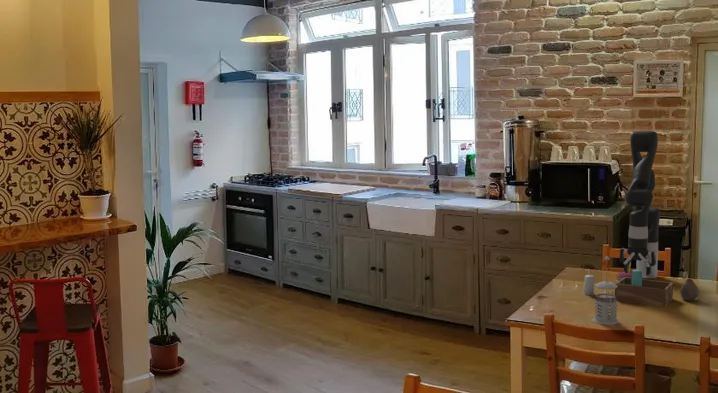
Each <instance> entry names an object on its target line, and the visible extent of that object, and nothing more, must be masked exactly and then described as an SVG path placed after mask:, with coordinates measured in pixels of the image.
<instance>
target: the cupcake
mask: <svg viewBox="0 0 718 393" xmlns="http://www.w3.org/2000/svg"><path fill="white" fill-rule="evenodd" d="M628 264H629V265H628V273H625V272H624V271H619V272H618V273H616V274H615V279H616V280H617V282H618V281H620V280H621V279H622V278H624V277H629V278H632V271H631V272H630V270H631V265H632V261H629V262H628Z"/></svg>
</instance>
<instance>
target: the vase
mask: <svg viewBox="0 0 718 393" xmlns="http://www.w3.org/2000/svg"><path fill="white" fill-rule="evenodd" d="M679 291H680V292H679V293H680V297H681V299H683V300H684V301H686V302H694V301H695V300H697V299H698V296H699V288H698V286H697V284H696V283H695V281H694V280H693V279H692V278H687V279H686V280H685V281H684V283H682V285H681V287H680V290H679Z"/></svg>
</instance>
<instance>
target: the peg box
mask: <svg viewBox="0 0 718 393" xmlns="http://www.w3.org/2000/svg"><path fill="white" fill-rule="evenodd" d="M614 284H616V285H617V286H618V287H617V288H616V289H614V295H615V296H616V298H615V299H616V300H617V301H620V302H626V303H627V302H629V303H636V304H643V305H648V306H654V307H655V306H657V307H664V308H666V306H668V304H670V303H671V301H673V299H674V297H673V296H674V282H670V281H669V282H668V281H660V280H654V279H653V280H652V279H647V278H642V287H641V286H633V285H632V278H629V277H624V278H622V279H621V280H620V281H618V280H617V281H616V282H615V283H614Z"/></svg>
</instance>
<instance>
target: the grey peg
mask: <svg viewBox="0 0 718 393" xmlns="http://www.w3.org/2000/svg"><path fill="white" fill-rule="evenodd" d="M583 294H584V295H586V296H594V295H595V275H592V274H586V275H584V293H583Z"/></svg>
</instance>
